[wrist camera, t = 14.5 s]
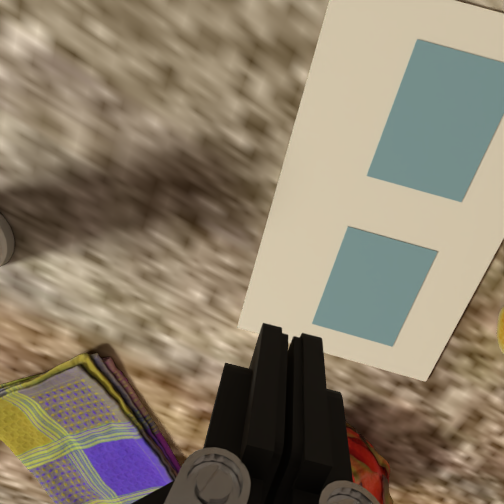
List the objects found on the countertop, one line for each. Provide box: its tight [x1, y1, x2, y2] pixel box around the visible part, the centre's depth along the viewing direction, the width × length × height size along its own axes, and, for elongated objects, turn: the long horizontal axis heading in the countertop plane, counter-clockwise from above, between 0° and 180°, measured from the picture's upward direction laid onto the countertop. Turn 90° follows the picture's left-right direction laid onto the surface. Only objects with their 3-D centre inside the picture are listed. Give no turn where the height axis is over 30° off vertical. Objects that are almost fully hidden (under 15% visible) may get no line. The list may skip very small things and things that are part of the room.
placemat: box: [237, 0, 504, 382], centre depth 30 cm, size 27×17×1 cm, turn 166°
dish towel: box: [0, 353, 181, 504], centre depth 44 cm, size 18×24×3 cm
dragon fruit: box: [346, 423, 393, 504], centre depth 37 cm, size 8×8×12 cm
